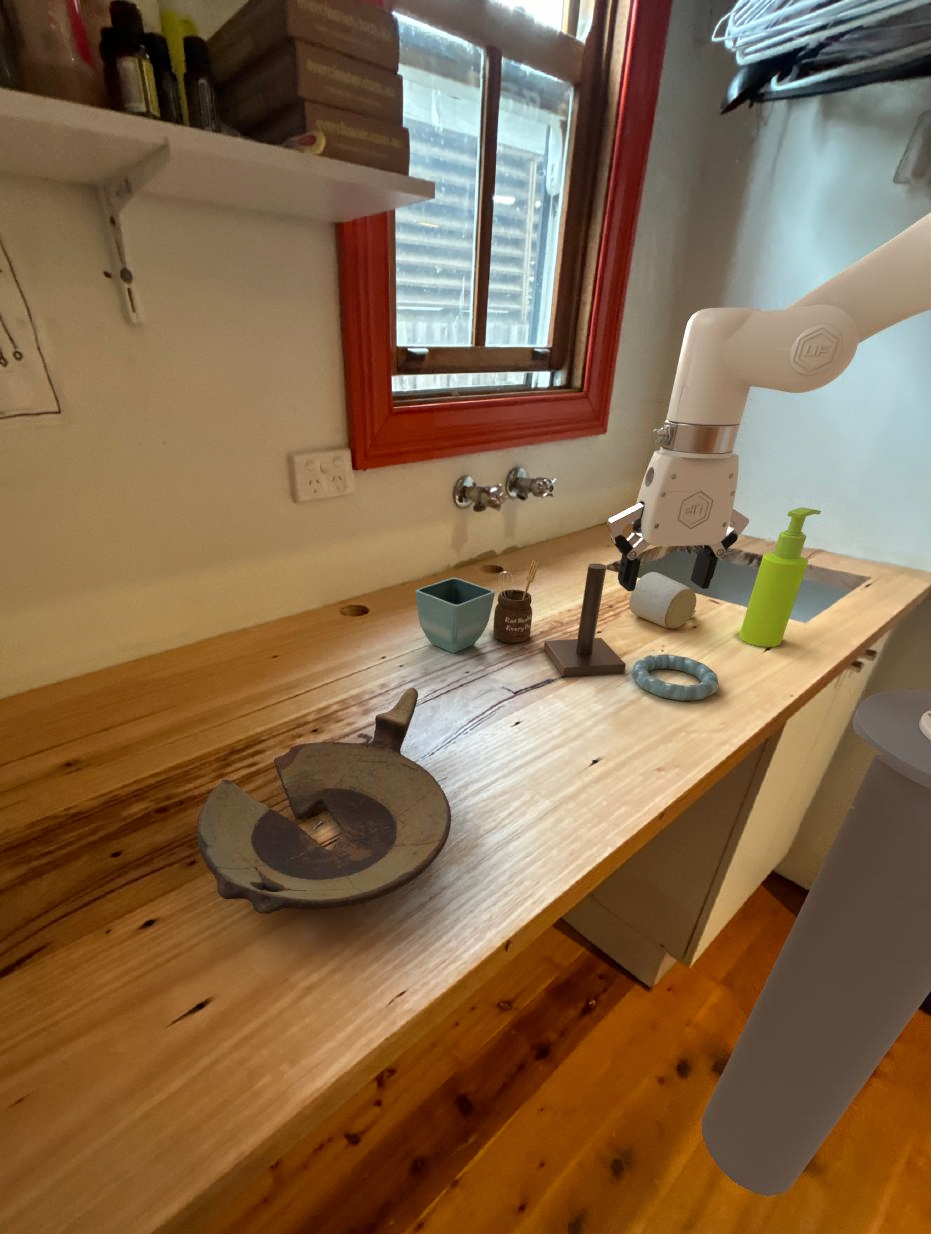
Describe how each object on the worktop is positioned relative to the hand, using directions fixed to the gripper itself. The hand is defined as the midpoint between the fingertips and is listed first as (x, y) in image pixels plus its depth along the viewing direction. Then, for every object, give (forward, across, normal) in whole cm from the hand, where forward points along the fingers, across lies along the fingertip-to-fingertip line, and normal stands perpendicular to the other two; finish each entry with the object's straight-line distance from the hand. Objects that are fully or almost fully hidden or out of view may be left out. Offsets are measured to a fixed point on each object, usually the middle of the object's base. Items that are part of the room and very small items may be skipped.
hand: (662, 586), depth 77 cm
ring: (+13, +5, 0) cm, 14 cm away
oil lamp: (+15, -40, -24) cm, 50 cm away
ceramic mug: (+14, +14, +21) cm, 29 cm away
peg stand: (+14, -5, +8) cm, 17 cm away
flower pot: (+15, -23, +16) cm, 32 cm away
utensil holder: (+15, -13, +18) cm, 27 cm away
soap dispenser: (+14, +26, +12) cm, 32 cm away
